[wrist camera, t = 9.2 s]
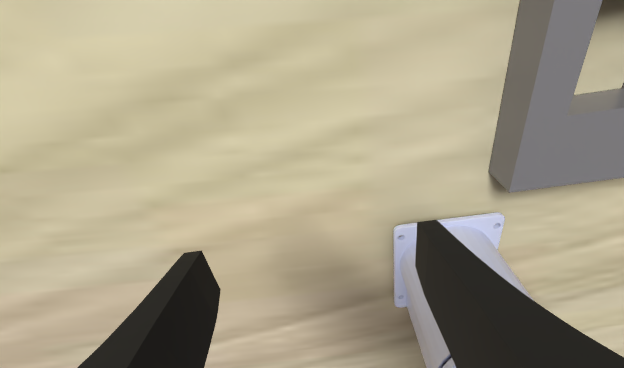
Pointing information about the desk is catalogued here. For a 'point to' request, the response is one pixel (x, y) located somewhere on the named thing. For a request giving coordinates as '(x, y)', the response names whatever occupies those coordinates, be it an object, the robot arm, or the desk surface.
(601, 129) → the grey board with hole
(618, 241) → the desk surface
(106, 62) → the desk surface
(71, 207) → the desk surface
